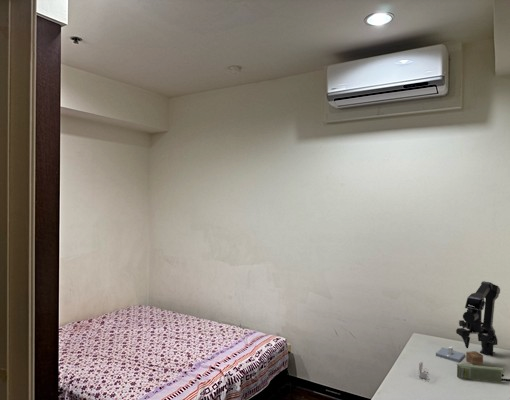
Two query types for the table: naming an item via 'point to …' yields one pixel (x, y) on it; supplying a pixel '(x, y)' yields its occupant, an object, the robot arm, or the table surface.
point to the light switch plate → (450, 354)
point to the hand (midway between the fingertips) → (474, 347)
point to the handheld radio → (480, 373)
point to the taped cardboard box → (474, 358)
